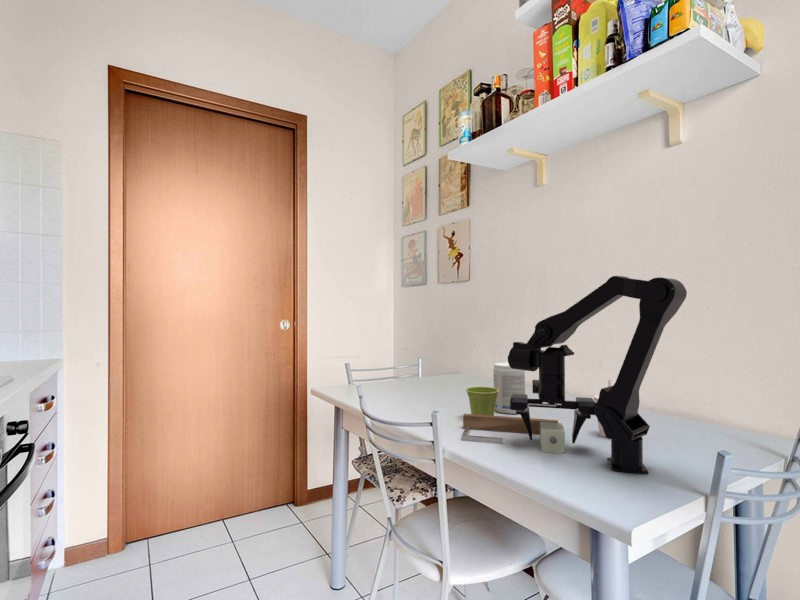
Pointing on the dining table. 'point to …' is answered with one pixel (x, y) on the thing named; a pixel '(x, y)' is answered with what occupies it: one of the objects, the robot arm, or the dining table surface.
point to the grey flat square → (479, 437)
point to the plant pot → (482, 400)
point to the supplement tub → (507, 385)
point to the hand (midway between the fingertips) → (552, 441)
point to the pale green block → (552, 437)
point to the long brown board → (502, 423)
